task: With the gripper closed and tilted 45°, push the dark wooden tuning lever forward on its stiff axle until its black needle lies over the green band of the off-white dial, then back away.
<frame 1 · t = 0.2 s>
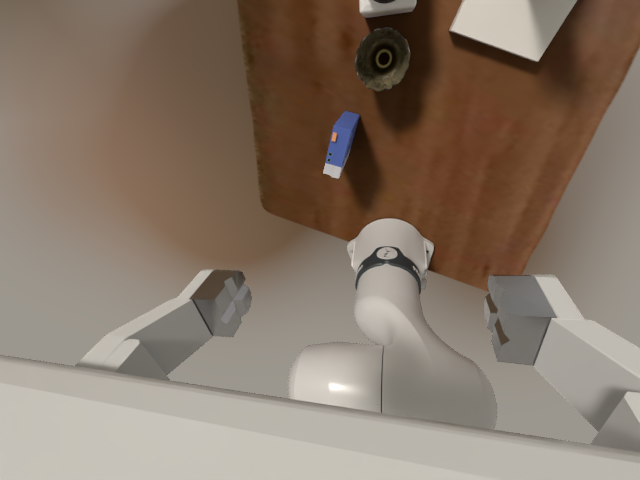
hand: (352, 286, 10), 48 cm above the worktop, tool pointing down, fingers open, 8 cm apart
walkman: (347, 134, 54), on the worktop
cup: (384, 58, 46), on the worktop
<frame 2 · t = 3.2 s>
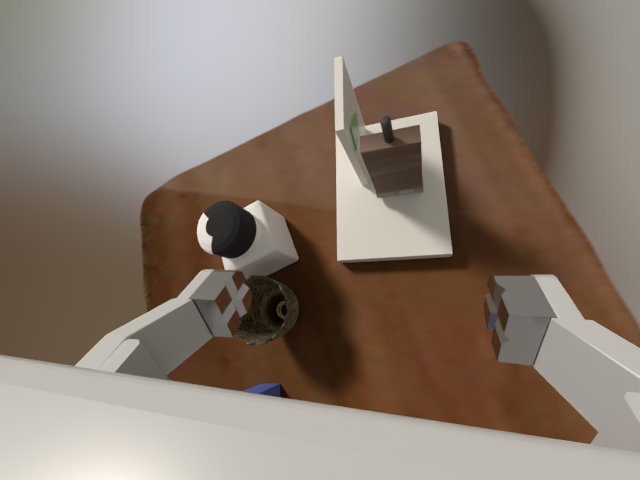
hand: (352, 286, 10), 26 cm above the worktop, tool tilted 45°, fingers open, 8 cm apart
walkman: (272, 416, 36), on the worktop
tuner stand: (401, 197, 37), on the worktop
cup: (287, 309, 39), on the worktop
tuning lever: (394, 162, 28), point 9 cm above the worktop, hinge at 0.0°
medicine bottle: (271, 248, 42), on the worktop
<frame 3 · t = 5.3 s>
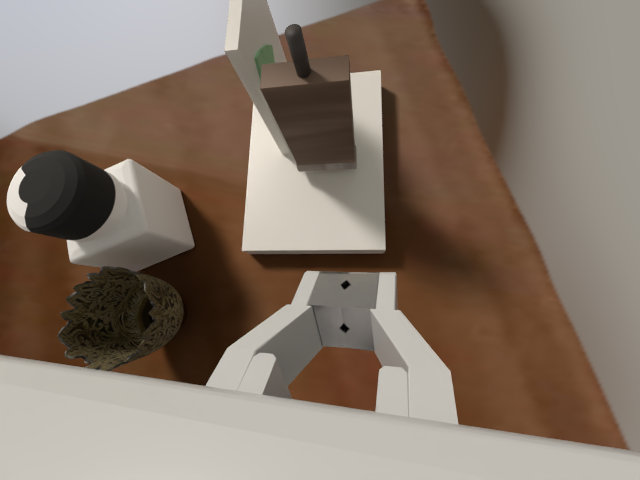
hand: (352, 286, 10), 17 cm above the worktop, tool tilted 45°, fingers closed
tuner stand: (331, 175, 29), on the worktop
cup: (174, 313, 29), on the worktop
tuning lever: (316, 118, 20), point 9 cm above the worktop, hinge at 0.0°
medicine bottle: (160, 230, 31), on the worktop
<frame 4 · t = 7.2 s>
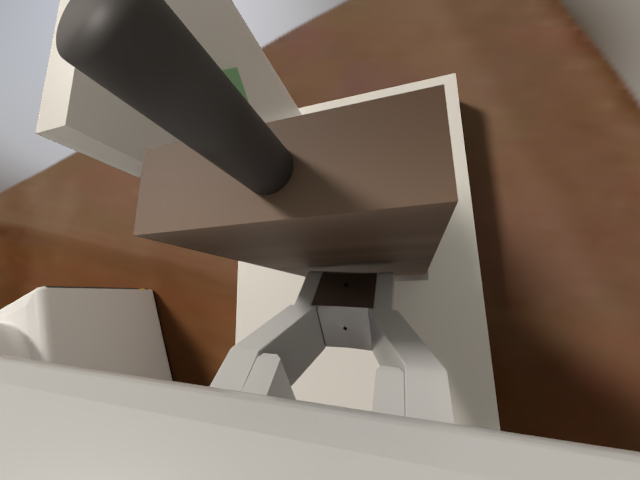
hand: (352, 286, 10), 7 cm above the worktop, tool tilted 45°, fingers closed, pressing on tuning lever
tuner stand: (376, 267, 17), on the worktop
tuning lever: (337, 233, 8), point 9 cm above the worktop, hinge at 1.6°, touching gripper
medicine bottle: (130, 350, 21), on the worktop
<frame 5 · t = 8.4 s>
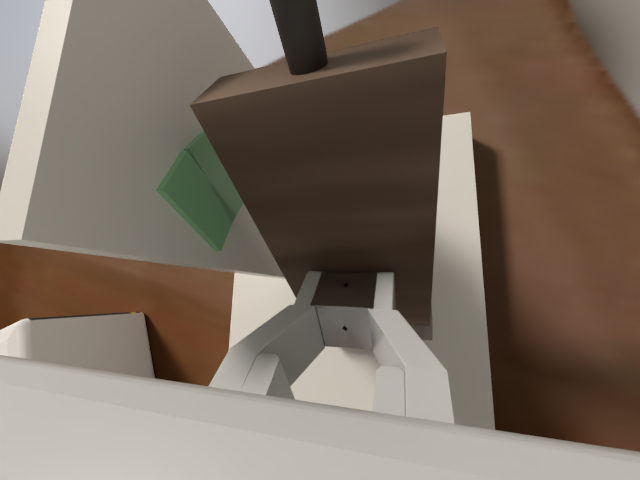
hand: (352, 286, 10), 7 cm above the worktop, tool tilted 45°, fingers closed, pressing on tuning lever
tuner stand: (376, 309, 16), on the worktop
tuning lever: (345, 218, 9), point 8 cm above the worktop, hinge at 32.1°, touching gripper
medicine bottle: (118, 374, 21), on the worktop
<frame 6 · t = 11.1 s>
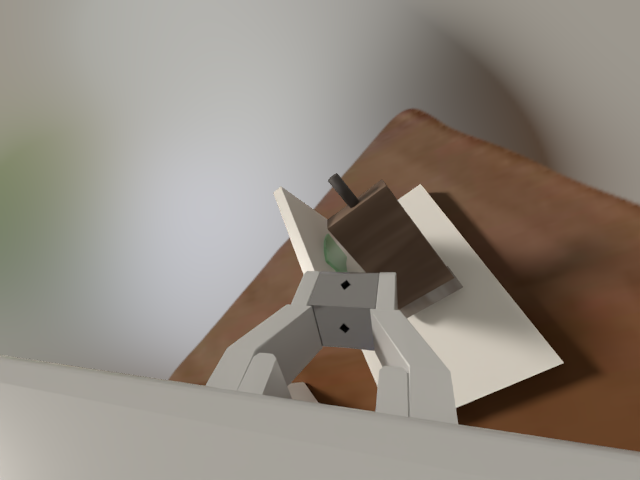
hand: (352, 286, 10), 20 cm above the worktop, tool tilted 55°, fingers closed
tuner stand: (436, 299, 27), on the worktop
tuning lever: (387, 245, 22), point 8 cm above the worktop, hinge at 34.2°
medicine bottle: (304, 434, 30), on the worktop
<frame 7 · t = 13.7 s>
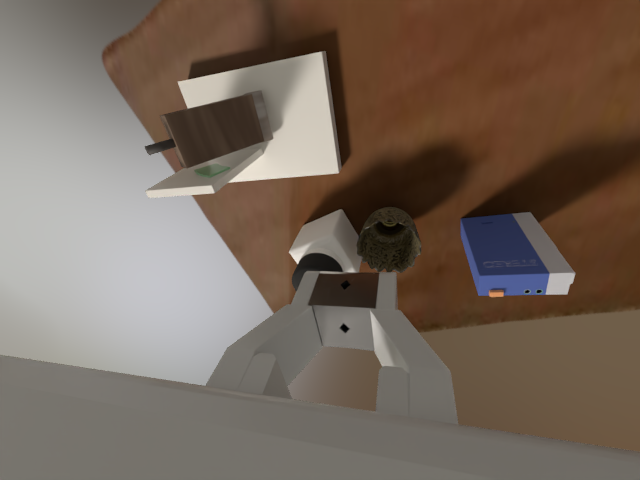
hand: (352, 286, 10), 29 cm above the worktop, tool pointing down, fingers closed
walkman: (492, 223, 38), on the worktop
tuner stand: (270, 111, 36), on the worktop
cup: (390, 215, 40), on the worktop
tuning lever: (213, 130, 30), point 8 cm above the worktop, hinge at 34.2°
medicine bottle: (333, 234, 44), on the worktop
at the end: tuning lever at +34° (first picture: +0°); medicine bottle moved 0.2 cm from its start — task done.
